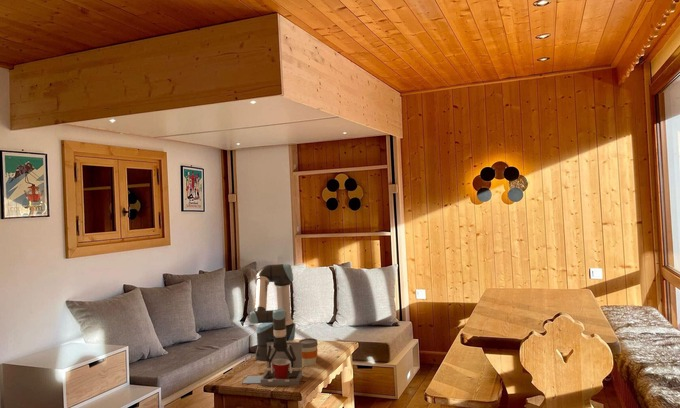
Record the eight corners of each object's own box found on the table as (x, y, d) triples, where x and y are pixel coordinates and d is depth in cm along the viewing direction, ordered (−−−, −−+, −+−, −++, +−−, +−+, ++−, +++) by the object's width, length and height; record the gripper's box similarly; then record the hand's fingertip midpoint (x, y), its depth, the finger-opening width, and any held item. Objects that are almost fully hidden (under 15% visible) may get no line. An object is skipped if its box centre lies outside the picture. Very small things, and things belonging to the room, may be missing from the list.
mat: (247, 376, 330) (247, 376, 330) (265, 376, 329) (265, 375, 329) (242, 384, 318) (242, 383, 318) (260, 383, 317) (260, 382, 317)
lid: (266, 370, 329) (267, 369, 331) (301, 370, 327) (302, 369, 329) (266, 342, 332) (267, 342, 333) (301, 342, 329) (301, 342, 331)
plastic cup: (287, 384, 315) (286, 364, 314) (270, 383, 317) (269, 363, 317) (293, 377, 325) (292, 358, 325) (276, 377, 328) (275, 357, 328)
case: (267, 376, 330) (266, 370, 330) (302, 375, 328) (302, 370, 328) (260, 386, 313) (260, 380, 313) (297, 386, 311) (297, 380, 311)
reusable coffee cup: (316, 367, 343) (315, 343, 343) (297, 366, 346) (296, 343, 346) (320, 360, 356) (319, 338, 355) (302, 360, 358) (301, 338, 358)
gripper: (259, 337, 318) (261, 374, 318) (298, 337, 316) (299, 374, 316) (262, 334, 325) (264, 370, 326) (300, 333, 323) (301, 370, 324)
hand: (281, 372), depth 321 cm, fingers closed on plastic cup, 11 cm apart
